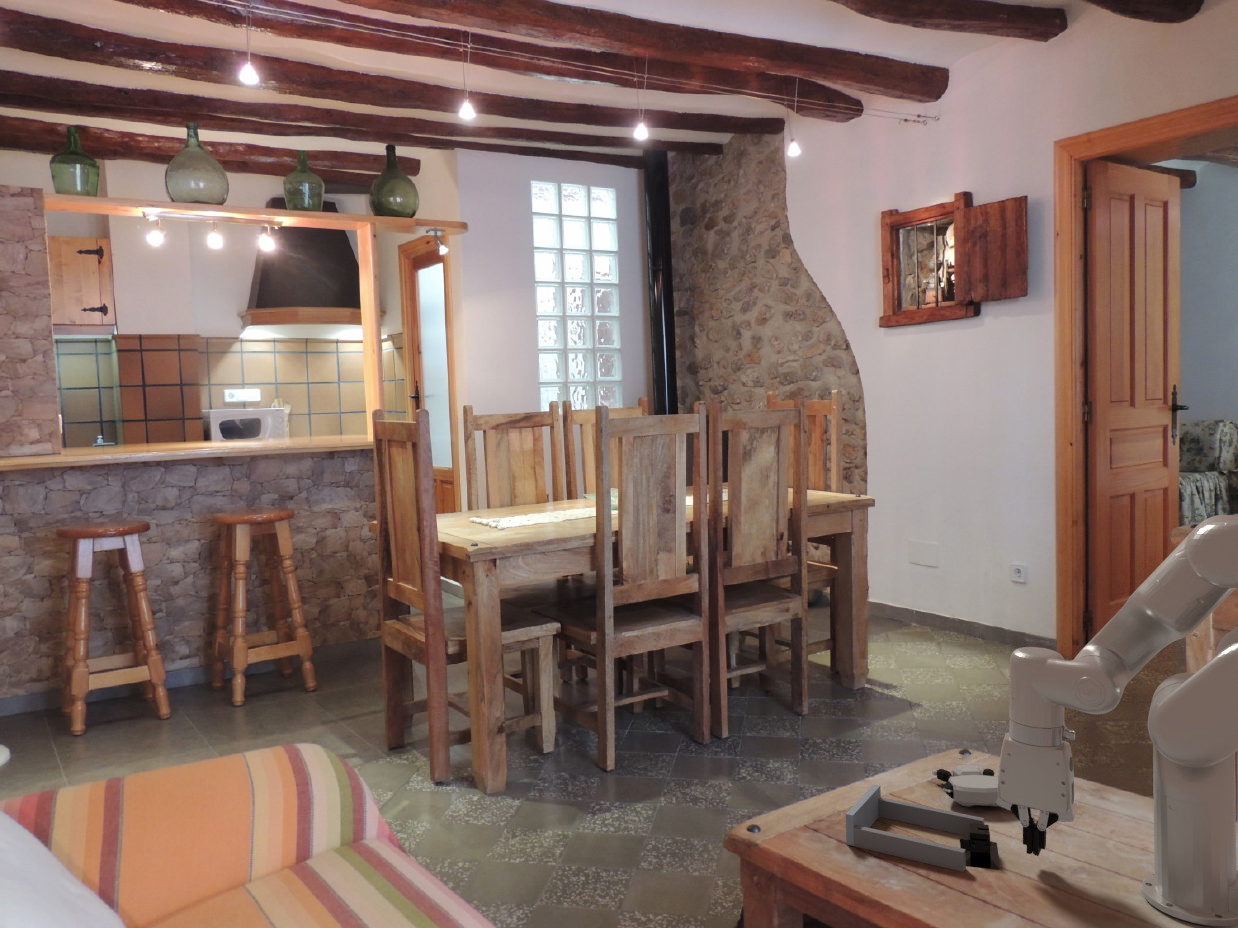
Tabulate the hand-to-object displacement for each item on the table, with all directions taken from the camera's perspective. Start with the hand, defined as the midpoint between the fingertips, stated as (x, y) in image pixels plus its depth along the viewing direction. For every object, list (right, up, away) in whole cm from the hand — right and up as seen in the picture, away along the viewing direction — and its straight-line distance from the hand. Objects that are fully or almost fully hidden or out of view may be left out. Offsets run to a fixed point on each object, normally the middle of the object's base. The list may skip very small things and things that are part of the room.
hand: (1034, 850), depth 135 cm
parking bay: (-14, -3, +10) cm, 17 cm away
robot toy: (+1, -2, +26) cm, 26 cm away
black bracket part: (-6, -3, +5) cm, 9 cm away
